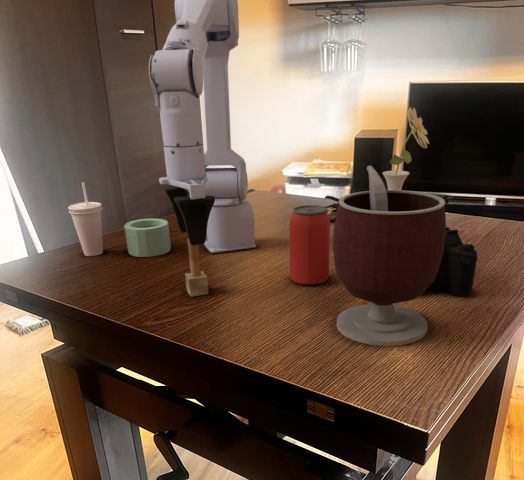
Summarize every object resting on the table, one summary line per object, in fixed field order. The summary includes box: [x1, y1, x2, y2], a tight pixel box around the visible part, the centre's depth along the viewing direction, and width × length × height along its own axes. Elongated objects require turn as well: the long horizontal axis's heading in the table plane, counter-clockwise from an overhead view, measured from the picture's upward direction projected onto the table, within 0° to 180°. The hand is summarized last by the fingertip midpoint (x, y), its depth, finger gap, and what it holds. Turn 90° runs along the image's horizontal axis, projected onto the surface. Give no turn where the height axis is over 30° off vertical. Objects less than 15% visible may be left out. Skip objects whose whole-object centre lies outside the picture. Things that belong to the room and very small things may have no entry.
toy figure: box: [322, 193, 341, 223], centre depth 124 cm, size 7×6×15 cm
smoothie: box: [67, 181, 104, 257], centre depth 105 cm, size 6×6×14 cm
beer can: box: [289, 204, 331, 286], centre depth 88 cm, size 7×7×12 cm
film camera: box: [427, 226, 478, 297], centre depth 84 cm, size 15×10×9 cm, turn 24°
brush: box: [184, 237, 210, 298], centre depth 85 cm, size 3×3×9 cm
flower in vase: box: [382, 106, 430, 190], centre depth 102 cm, size 13×11×25 cm
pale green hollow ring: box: [123, 218, 172, 258], centre depth 107 cm, size 9×9×6 cm
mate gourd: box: [332, 165, 447, 347], centre depth 69 cm, size 16×14×20 cm
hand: (192, 237), depth 83 cm, fingers open, 7 cm apart
